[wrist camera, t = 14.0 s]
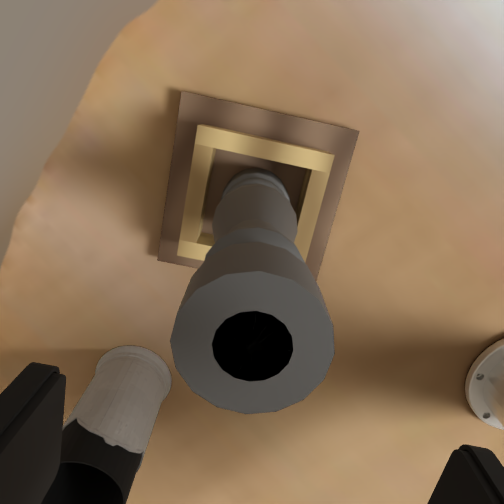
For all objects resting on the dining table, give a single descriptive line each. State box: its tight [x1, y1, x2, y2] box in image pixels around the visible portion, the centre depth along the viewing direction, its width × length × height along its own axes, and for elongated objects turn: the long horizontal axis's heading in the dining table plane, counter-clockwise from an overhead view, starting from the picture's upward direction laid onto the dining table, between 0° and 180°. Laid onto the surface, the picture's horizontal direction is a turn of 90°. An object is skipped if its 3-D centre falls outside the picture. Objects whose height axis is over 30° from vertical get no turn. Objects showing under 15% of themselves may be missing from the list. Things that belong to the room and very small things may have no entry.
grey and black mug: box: [41, 346, 172, 504], centre depth 39 cm, size 9×14×15 cm, turn 147°
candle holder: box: [170, 168, 335, 414], centre depth 25 cm, size 6×6×25 cm
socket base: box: [157, 91, 359, 281], centre depth 36 cm, size 16×16×5 cm
